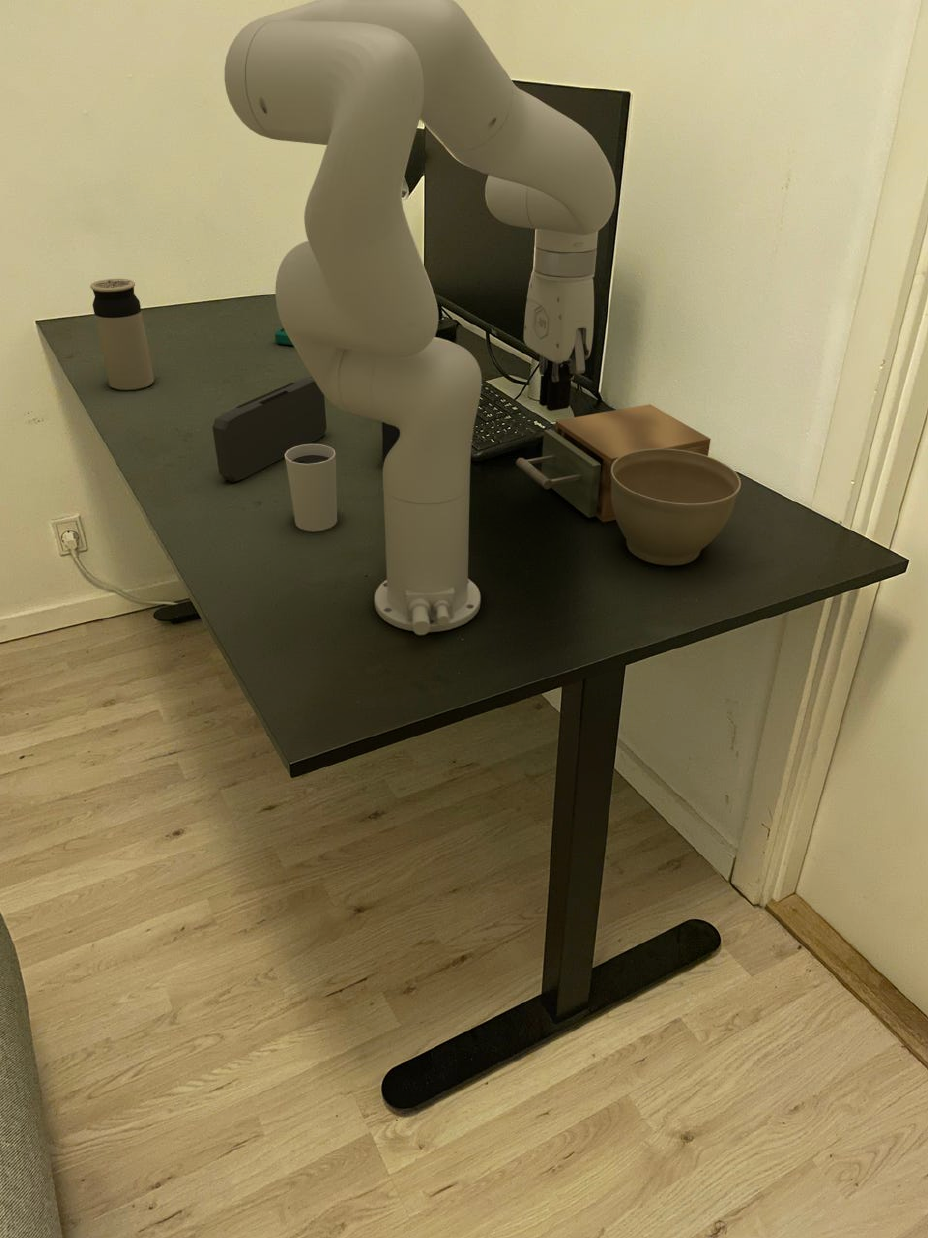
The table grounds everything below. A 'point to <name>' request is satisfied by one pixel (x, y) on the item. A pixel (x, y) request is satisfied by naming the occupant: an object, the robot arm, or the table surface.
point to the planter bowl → (671, 502)
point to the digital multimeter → (282, 337)
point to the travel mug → (122, 334)
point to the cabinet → (630, 438)
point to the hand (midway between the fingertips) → (554, 405)
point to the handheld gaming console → (268, 428)
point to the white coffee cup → (313, 486)
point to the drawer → (569, 471)
